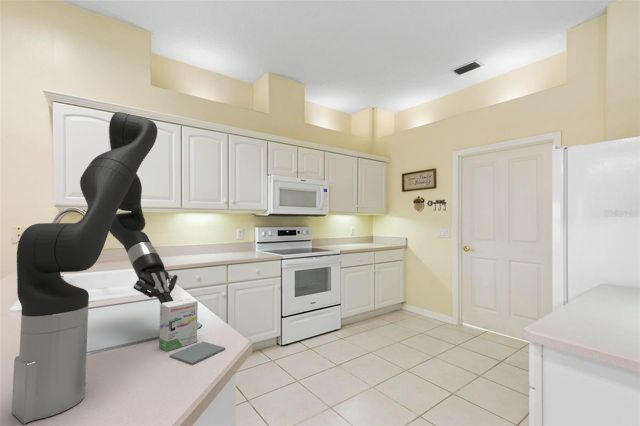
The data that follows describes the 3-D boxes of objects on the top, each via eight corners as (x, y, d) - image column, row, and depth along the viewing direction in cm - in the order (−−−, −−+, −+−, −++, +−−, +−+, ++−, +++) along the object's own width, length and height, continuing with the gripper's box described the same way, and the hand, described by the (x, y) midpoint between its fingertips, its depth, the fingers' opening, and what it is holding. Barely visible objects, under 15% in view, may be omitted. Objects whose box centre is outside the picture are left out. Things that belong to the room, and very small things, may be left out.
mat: (192, 365, 68) (192, 363, 68) (169, 357, 72) (169, 355, 72) (225, 349, 77) (225, 347, 77) (203, 343, 81) (203, 341, 81)
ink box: (166, 352, 75) (167, 306, 76) (158, 347, 78) (159, 303, 79) (197, 342, 82) (198, 300, 82) (189, 338, 85) (190, 297, 85)
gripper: (127, 253, 82) (151, 302, 76) (171, 250, 94) (195, 292, 87) (117, 271, 85) (139, 319, 78) (161, 266, 96) (183, 308, 90)
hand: (168, 305), depth 83 cm, fingers closed
